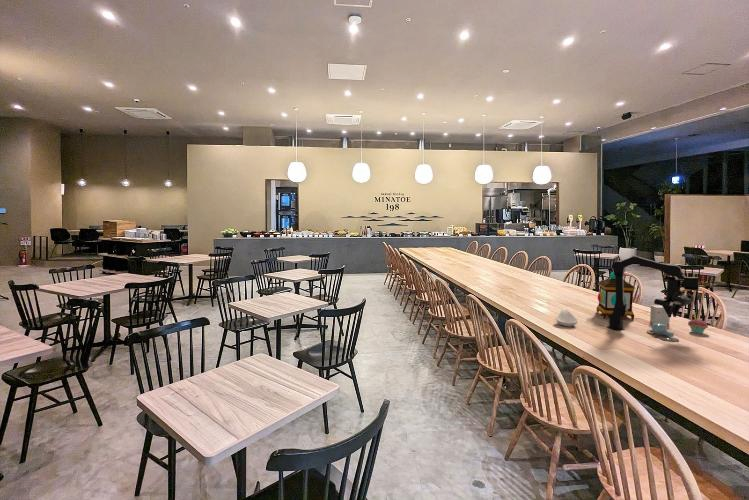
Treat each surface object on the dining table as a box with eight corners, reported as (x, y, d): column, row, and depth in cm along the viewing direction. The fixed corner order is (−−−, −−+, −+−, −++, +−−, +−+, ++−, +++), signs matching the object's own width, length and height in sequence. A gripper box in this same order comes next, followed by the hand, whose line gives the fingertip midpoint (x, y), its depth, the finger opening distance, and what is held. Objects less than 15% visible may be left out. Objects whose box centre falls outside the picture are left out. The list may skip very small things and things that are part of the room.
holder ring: (659, 337, 209) (659, 335, 209) (642, 331, 219) (642, 330, 219) (674, 335, 211) (674, 334, 211) (657, 330, 221) (657, 329, 221)
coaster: (670, 342, 200) (670, 341, 200) (654, 337, 209) (654, 336, 208) (683, 341, 202) (683, 340, 202) (667, 336, 210) (667, 335, 210)
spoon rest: (578, 329, 227) (579, 317, 226) (556, 327, 231) (557, 315, 230) (573, 318, 249) (573, 307, 248) (553, 317, 253) (553, 306, 252)
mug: (648, 332, 217) (649, 323, 217) (659, 332, 218) (659, 322, 217) (666, 339, 206) (667, 328, 205) (677, 338, 207) (678, 328, 206)
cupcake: (689, 333, 215) (690, 312, 214) (685, 329, 222) (687, 308, 221) (709, 335, 211) (710, 313, 210) (705, 331, 218) (706, 310, 217)
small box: (663, 322, 238) (664, 305, 237) (669, 324, 232) (670, 307, 231) (649, 321, 238) (650, 305, 238) (655, 324, 233) (656, 307, 232)
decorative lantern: (601, 319, 246) (603, 272, 244) (593, 311, 265) (595, 268, 263) (637, 321, 241) (639, 273, 238) (627, 313, 260) (628, 269, 257)
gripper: (674, 292, 197) (672, 322, 198) (703, 290, 201) (701, 319, 202) (653, 288, 207) (652, 317, 209) (681, 286, 212) (680, 314, 213)
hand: (672, 317), depth 208 cm, fingers open, 3 cm apart
